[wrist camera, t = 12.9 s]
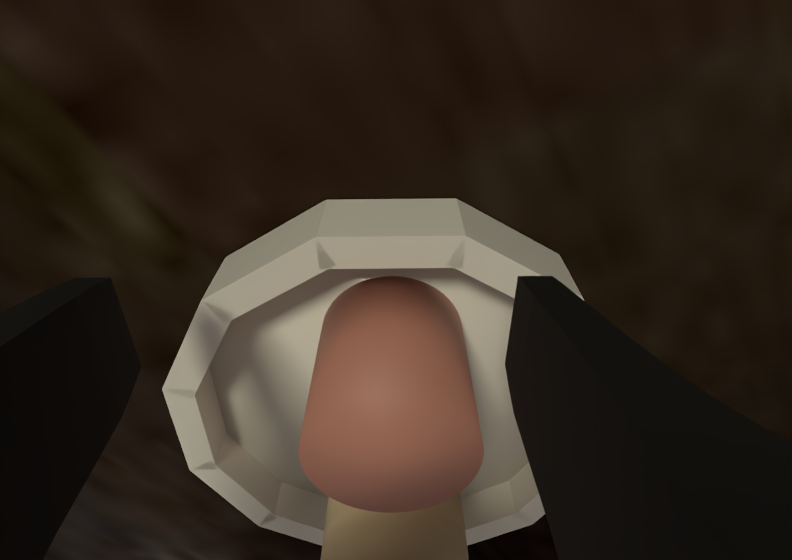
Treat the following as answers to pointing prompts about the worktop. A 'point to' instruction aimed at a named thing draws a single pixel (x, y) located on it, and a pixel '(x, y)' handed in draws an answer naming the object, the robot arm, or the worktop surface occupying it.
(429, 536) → the bead
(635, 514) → the robot arm
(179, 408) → the dish
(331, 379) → the brownish pink rounded piece
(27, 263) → the worktop surface
